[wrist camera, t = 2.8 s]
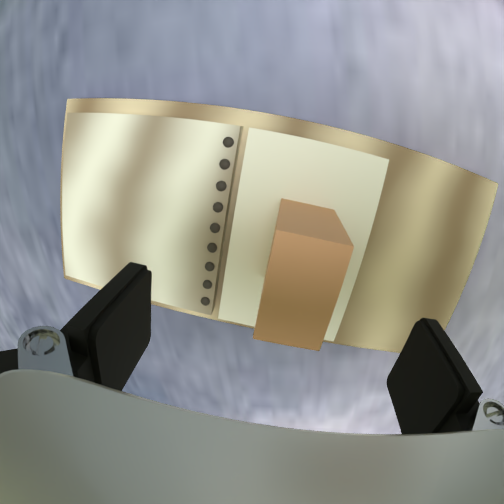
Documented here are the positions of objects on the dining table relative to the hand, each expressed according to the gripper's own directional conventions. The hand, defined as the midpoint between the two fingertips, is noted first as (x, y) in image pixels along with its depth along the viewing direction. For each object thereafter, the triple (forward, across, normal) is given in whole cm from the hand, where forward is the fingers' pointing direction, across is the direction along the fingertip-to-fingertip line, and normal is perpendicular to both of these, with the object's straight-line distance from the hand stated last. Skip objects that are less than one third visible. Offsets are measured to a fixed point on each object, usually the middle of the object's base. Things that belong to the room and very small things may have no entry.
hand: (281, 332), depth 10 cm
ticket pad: (+11, +1, 0) cm, 11 cm away
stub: (+10, -1, 0) cm, 10 cm away
